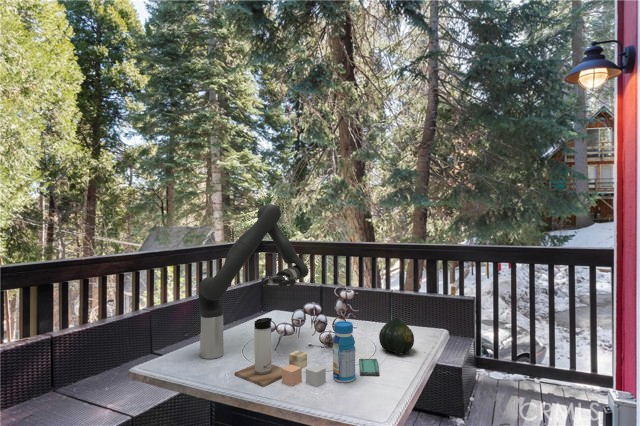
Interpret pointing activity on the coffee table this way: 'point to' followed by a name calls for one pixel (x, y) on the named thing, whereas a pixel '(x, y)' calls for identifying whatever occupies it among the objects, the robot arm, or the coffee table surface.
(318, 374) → the grey block
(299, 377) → the terracotta block
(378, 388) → the coffee table surface
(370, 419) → the coffee table surface
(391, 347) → the squash
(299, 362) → the birch block
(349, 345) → the beverage bottle
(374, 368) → the smartphone
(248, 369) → the walnut board
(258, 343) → the travel mug
